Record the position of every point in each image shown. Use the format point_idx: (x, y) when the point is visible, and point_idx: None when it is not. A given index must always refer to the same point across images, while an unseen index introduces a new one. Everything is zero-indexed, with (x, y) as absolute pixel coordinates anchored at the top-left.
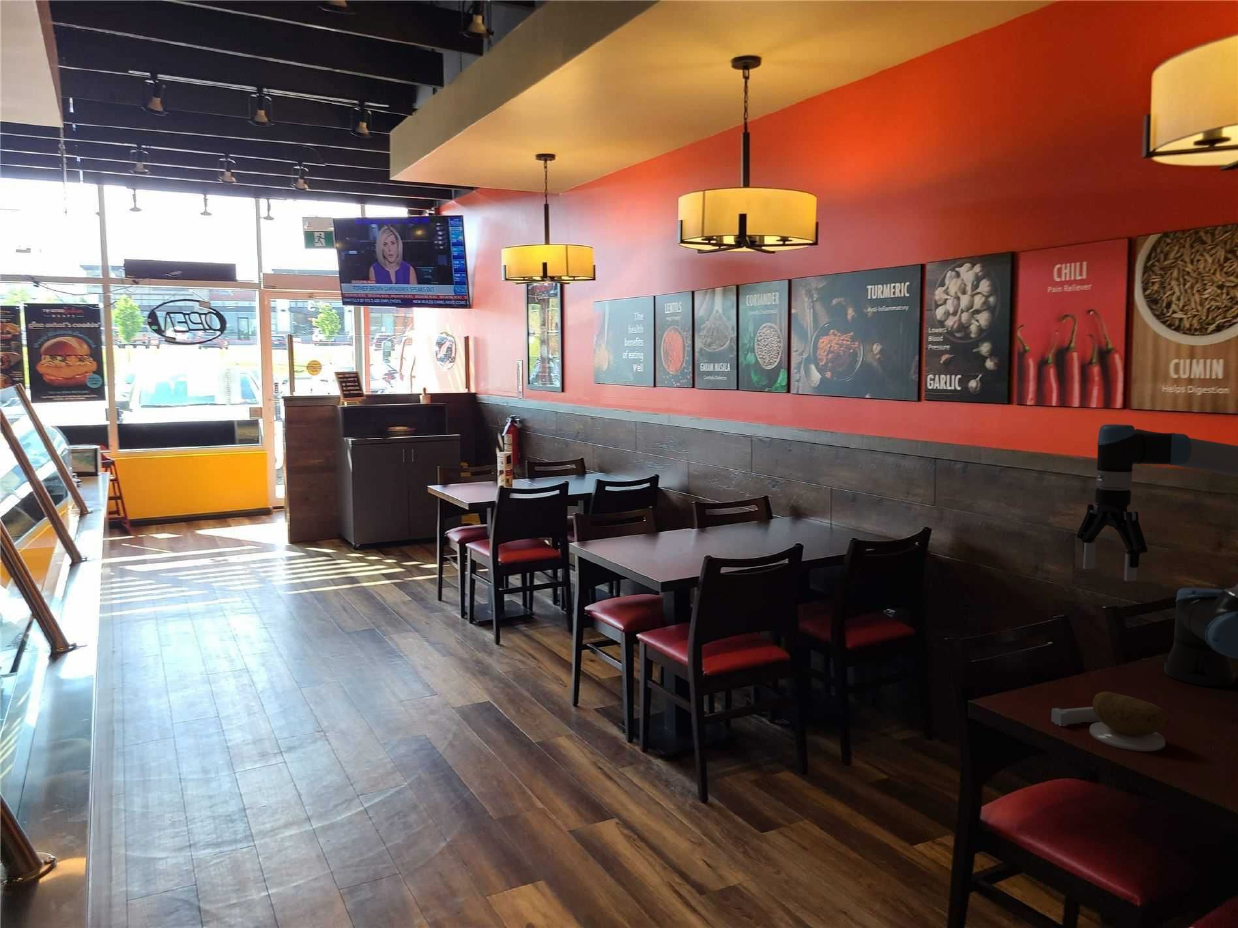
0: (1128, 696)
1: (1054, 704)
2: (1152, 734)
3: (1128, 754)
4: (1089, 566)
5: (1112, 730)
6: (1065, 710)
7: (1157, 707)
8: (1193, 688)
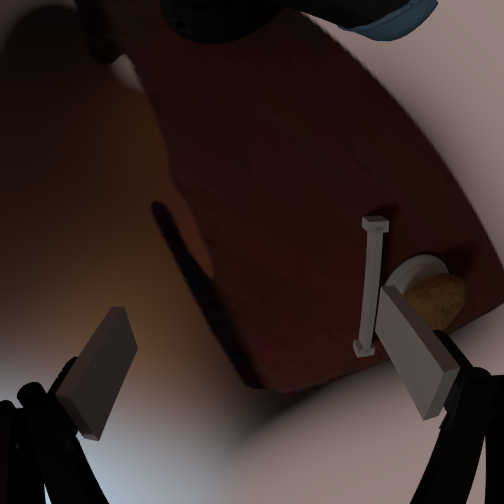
0: (438, 317)
1: (304, 316)
2: (430, 267)
3: None
4: (129, 336)
5: None
6: (368, 346)
7: (463, 295)
8: (272, 44)
